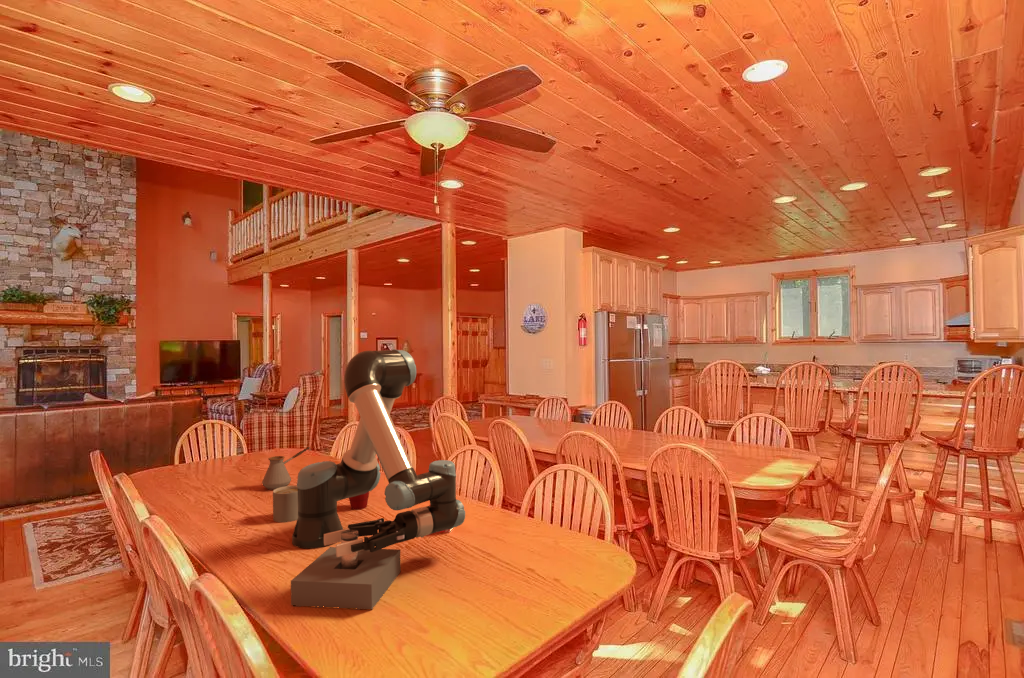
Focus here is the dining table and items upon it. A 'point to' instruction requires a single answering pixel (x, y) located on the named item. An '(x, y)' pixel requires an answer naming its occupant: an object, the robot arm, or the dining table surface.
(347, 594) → the block
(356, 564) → the steel pin
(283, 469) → the coffee pot
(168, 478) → the dining table surface
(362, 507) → the plastic cup
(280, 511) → the coffee mug
